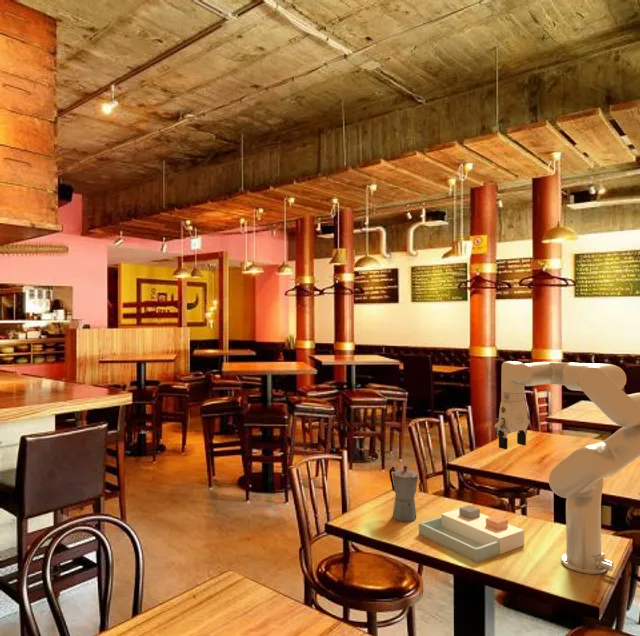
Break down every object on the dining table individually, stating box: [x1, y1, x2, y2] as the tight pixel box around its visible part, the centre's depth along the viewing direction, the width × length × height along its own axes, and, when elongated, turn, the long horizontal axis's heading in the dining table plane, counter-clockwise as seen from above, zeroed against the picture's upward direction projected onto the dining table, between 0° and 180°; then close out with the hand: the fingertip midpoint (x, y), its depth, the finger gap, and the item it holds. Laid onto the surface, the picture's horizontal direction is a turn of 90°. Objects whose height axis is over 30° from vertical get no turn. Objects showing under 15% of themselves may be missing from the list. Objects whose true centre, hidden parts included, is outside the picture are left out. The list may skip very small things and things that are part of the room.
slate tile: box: [458, 504, 481, 519], centre depth 189 cm, size 5×5×2 cm
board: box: [440, 508, 525, 555], centre depth 184 cm, size 26×12×5 cm, turn 32°
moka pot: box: [388, 465, 419, 523], centre depth 202 cm, size 10×15×20 cm, turn 39°
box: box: [418, 516, 501, 563], centre depth 178 cm, size 26×11×4 cm, turn 32°
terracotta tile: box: [486, 515, 509, 531], centre depth 179 cm, size 5×5×2 cm
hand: (512, 446), depth 183 cm, fingers open, 9 cm apart
